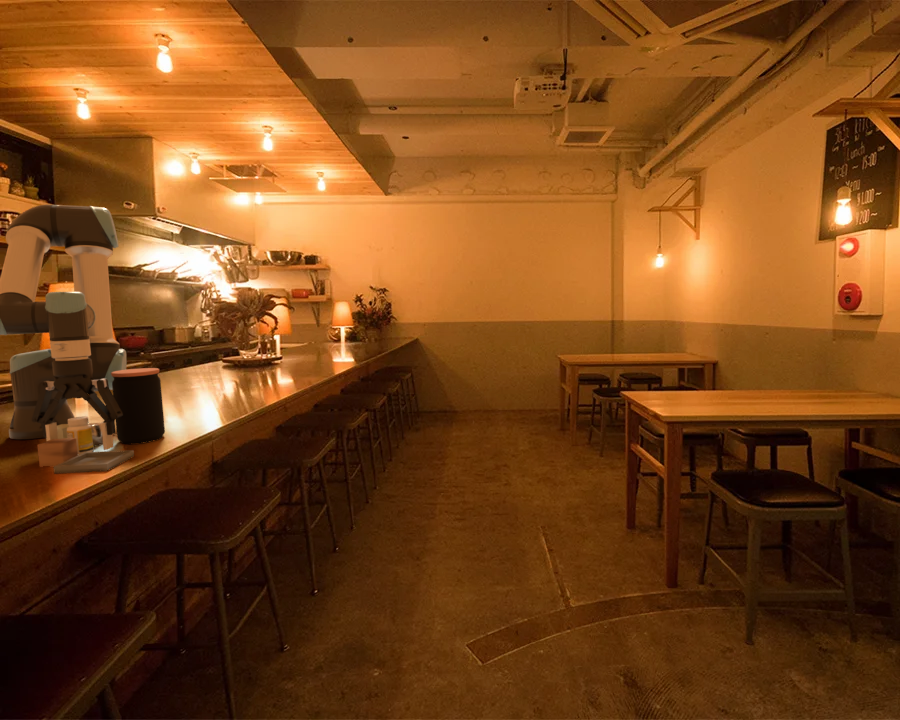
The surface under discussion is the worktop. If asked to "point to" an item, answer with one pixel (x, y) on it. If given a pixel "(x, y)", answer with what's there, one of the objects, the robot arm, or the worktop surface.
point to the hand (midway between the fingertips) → (81, 449)
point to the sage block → (62, 431)
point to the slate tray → (93, 461)
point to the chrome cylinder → (96, 433)
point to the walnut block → (57, 451)
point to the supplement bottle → (81, 433)
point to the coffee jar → (138, 405)
